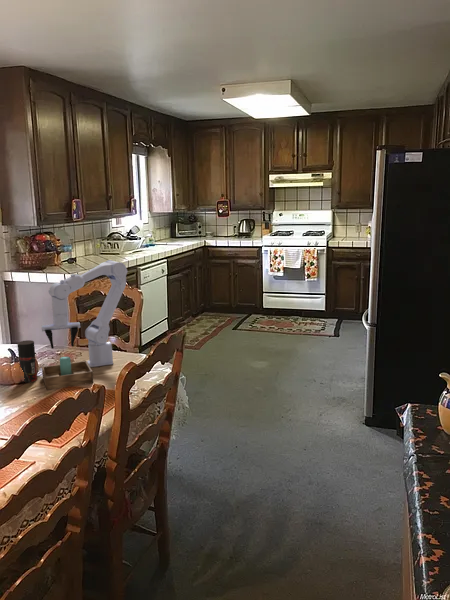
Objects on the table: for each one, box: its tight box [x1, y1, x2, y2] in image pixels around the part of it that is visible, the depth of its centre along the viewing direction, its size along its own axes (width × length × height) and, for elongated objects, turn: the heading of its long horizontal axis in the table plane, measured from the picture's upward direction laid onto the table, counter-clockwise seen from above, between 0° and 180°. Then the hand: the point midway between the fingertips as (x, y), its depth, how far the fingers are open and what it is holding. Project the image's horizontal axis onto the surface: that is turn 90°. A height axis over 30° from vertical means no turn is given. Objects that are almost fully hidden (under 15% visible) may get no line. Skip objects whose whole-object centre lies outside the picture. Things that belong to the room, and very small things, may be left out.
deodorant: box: [16, 339, 38, 384], centre depth 201 cm, size 6×6×15 cm
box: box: [41, 360, 94, 391], centre depth 201 cm, size 17×14×4 cm
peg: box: [59, 356, 72, 376], centre depth 203 cm, size 4×4×8 cm
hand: (62, 346), depth 209 cm, fingers open, 7 cm apart
